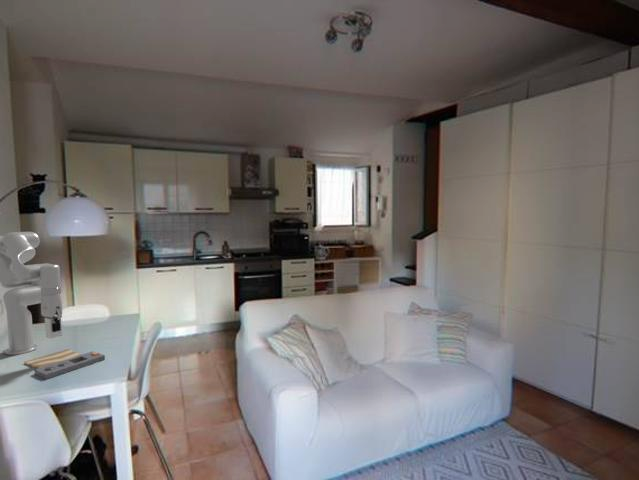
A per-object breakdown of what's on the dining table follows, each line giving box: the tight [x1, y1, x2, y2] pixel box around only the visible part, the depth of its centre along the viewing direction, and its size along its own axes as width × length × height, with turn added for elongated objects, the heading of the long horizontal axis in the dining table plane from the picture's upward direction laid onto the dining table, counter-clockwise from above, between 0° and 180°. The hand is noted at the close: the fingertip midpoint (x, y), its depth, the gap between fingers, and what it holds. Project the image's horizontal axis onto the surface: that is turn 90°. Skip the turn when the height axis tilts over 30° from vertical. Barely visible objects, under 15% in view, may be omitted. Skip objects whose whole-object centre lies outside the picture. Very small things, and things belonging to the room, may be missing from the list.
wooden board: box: [24, 348, 83, 369], centre depth 171 cm, size 14×18×1 cm
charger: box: [44, 317, 63, 339], centre depth 170 cm, size 5×5×10 cm
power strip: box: [33, 351, 106, 380], centre depth 164 cm, size 10×24×3 cm, turn 150°
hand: (53, 330), depth 170 cm, fingers closed on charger, 4 cm apart
